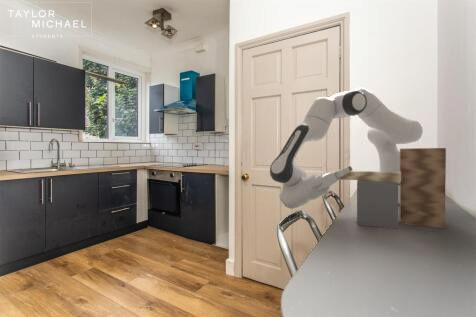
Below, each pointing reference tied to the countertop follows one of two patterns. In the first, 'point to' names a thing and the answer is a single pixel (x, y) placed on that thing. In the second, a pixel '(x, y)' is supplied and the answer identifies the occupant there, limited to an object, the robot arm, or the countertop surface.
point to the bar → (372, 176)
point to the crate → (377, 203)
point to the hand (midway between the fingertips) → (350, 168)
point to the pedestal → (422, 186)
